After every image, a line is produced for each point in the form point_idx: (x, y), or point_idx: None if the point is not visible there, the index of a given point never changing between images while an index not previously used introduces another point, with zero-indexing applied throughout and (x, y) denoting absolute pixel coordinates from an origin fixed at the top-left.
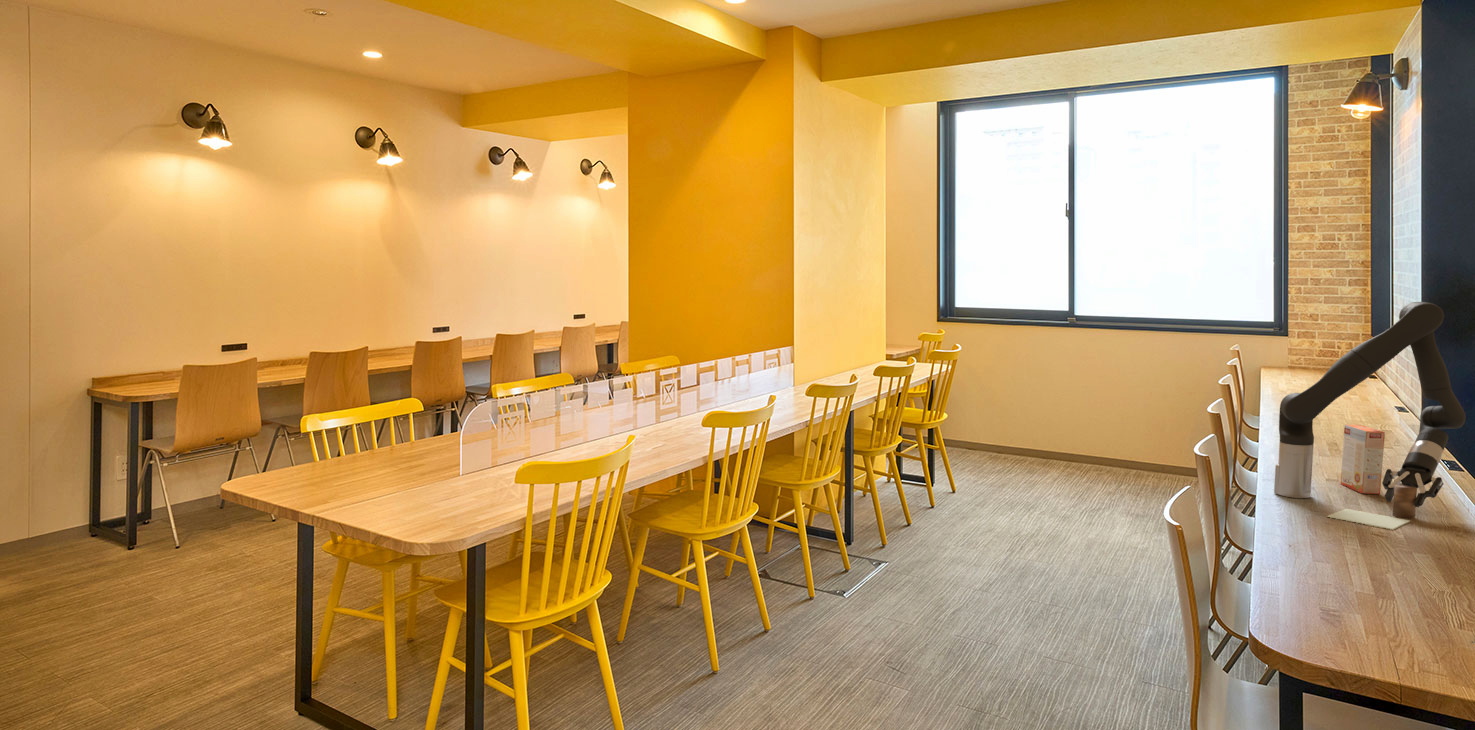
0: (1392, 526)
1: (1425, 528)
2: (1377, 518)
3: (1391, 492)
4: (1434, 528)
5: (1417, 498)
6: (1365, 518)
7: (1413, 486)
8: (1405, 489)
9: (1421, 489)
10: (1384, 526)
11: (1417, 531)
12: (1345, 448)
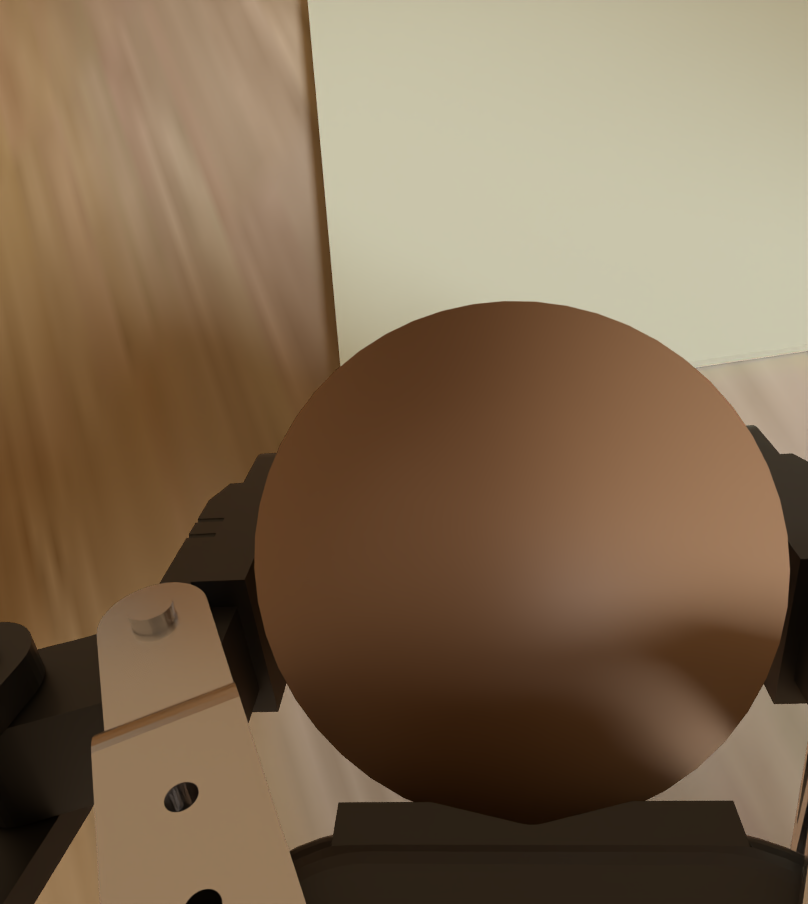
0: (340, 41)
1: (158, 289)
2: (571, 187)
3: None
4: (104, 364)
5: (257, 501)
6: (632, 87)
7: (412, 794)
8: (415, 331)
9: (175, 659)
10: None
11: (170, 130)
12: None
